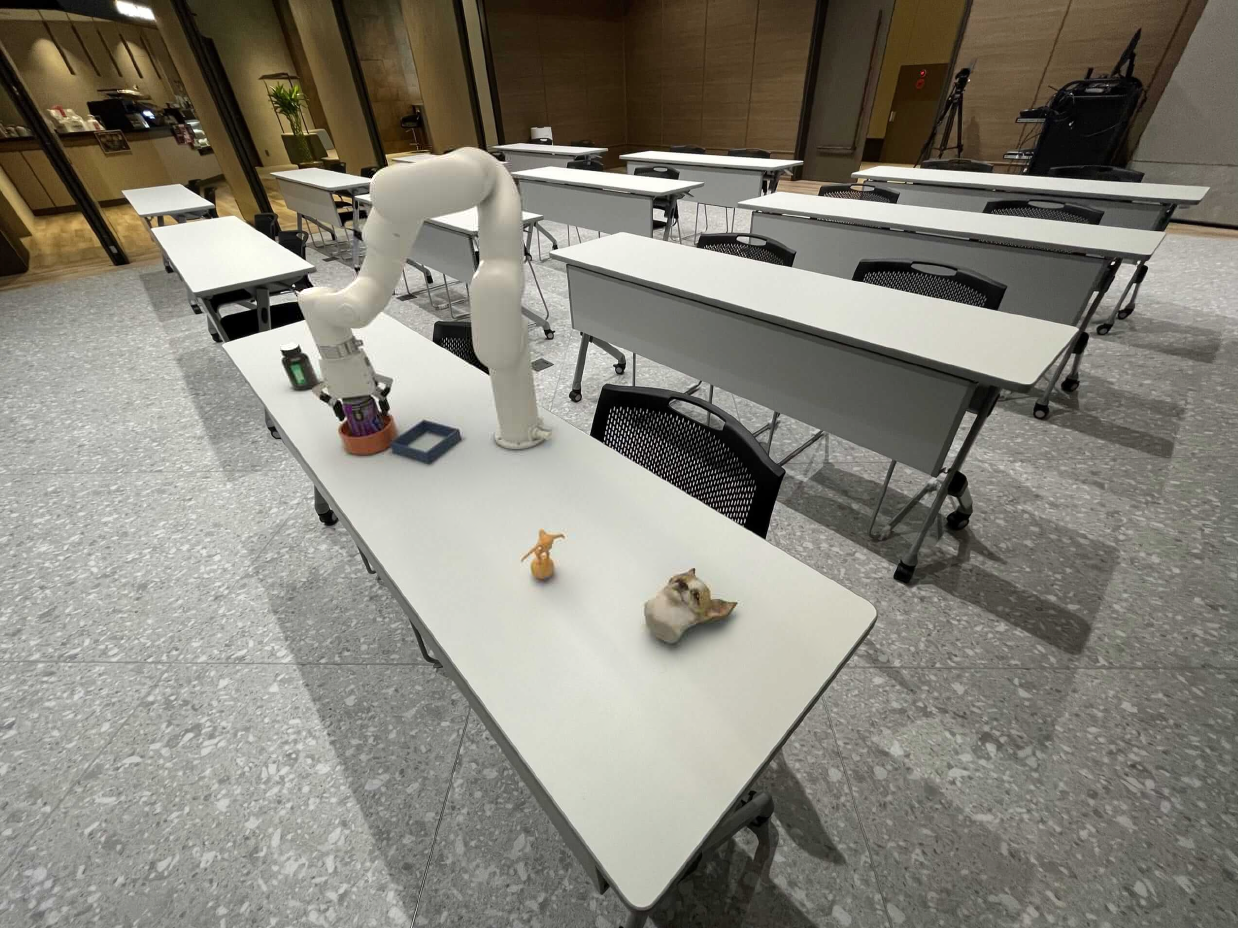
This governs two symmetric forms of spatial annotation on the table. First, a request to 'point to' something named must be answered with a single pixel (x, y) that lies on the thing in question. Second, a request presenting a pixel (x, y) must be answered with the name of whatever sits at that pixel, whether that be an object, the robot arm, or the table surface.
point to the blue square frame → (400, 442)
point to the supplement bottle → (298, 367)
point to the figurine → (542, 563)
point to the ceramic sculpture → (683, 607)
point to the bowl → (369, 437)
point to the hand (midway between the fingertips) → (364, 415)
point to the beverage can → (362, 415)
